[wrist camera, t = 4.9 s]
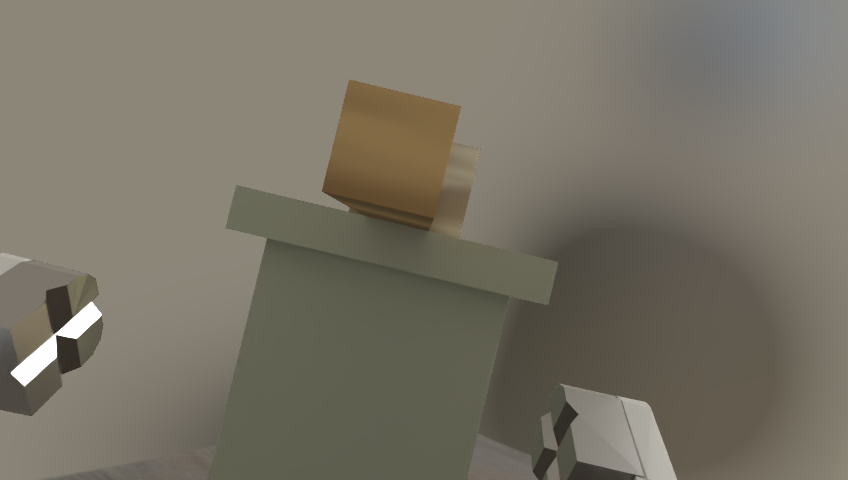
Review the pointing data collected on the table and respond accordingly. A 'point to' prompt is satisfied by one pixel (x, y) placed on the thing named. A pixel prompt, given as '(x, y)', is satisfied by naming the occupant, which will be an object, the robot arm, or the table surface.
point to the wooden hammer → (401, 160)
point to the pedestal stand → (364, 346)
